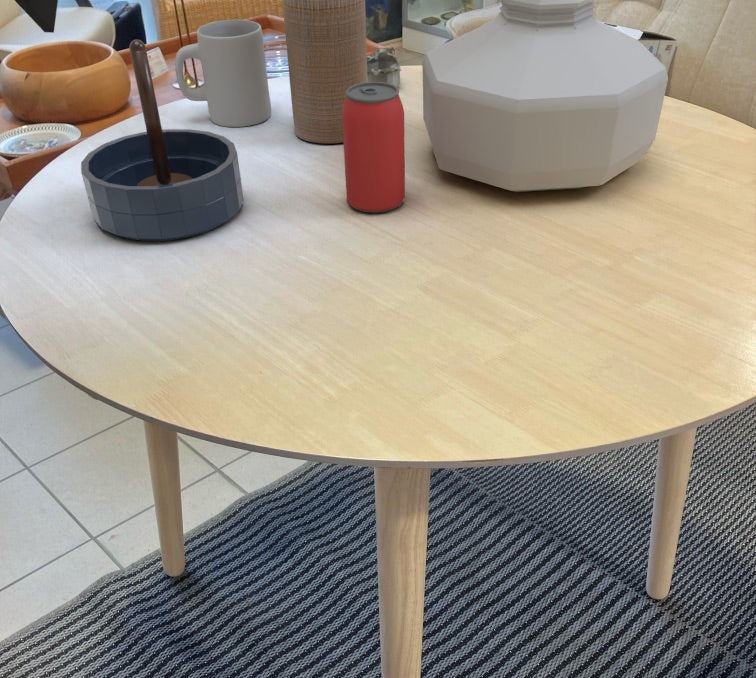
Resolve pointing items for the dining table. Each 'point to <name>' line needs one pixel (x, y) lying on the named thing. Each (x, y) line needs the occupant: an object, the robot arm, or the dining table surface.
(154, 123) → the brown handled stamp
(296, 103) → the vase
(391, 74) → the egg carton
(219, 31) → the mug
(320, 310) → the dining table surface
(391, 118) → the beer can
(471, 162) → the pot
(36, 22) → the robot arm
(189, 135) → the bowl
